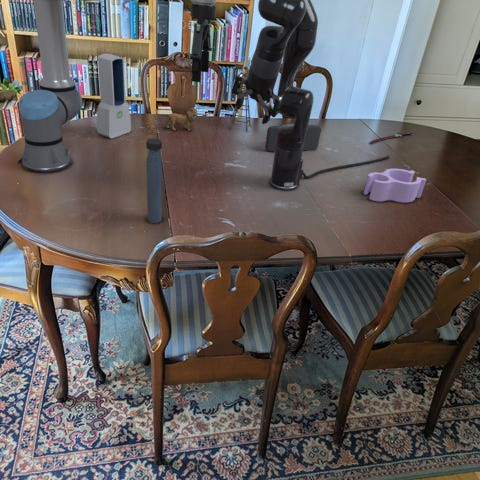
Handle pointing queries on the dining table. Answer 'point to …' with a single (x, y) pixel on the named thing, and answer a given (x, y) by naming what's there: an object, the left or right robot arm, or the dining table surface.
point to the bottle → (154, 186)
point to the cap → (154, 144)
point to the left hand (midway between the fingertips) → (200, 76)
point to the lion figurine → (182, 118)
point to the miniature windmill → (239, 67)
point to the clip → (394, 186)
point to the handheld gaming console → (309, 142)
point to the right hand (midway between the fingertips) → (251, 115)
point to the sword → (388, 137)
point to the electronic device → (112, 98)
